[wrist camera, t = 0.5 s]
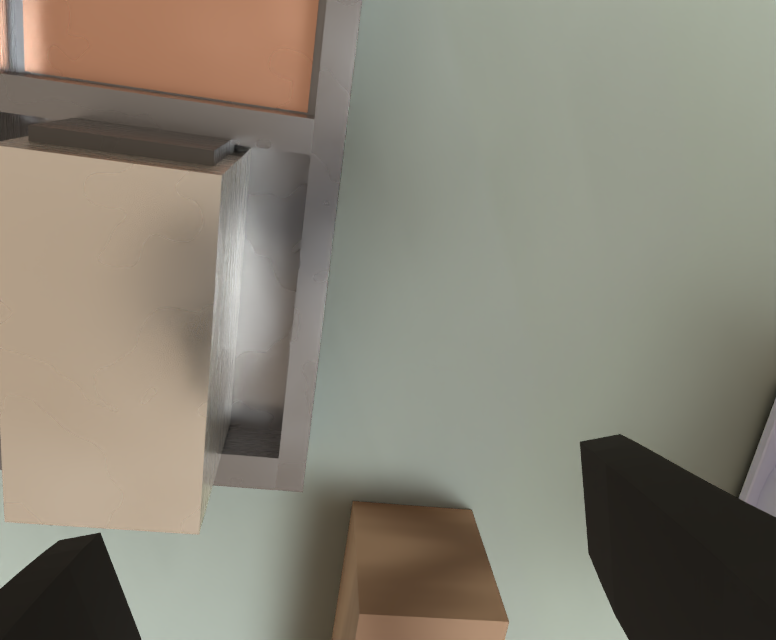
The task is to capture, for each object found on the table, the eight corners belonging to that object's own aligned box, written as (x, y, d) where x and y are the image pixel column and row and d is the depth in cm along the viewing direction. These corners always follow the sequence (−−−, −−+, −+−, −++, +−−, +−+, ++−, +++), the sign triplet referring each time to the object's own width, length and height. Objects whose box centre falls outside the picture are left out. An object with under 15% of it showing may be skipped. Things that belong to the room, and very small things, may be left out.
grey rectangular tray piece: (416, -492, 14) (479, -888, 8) (305, 445, 21) (297, 580, 15) (-24, -610, 13) (-307, -1166, 7) (17, 421, 20) (-106, 558, 14)
